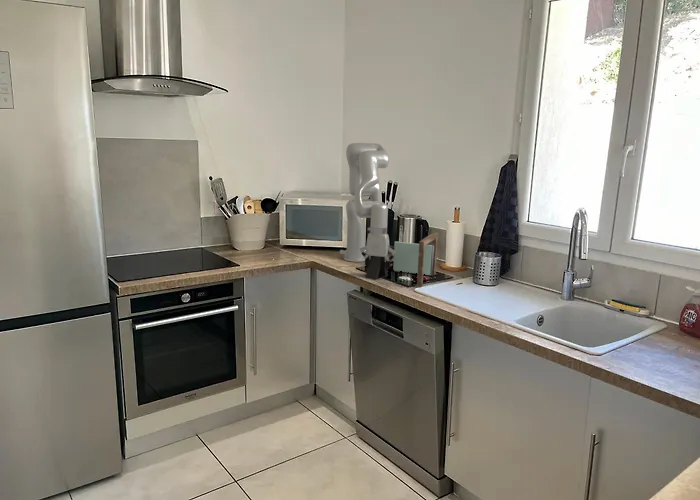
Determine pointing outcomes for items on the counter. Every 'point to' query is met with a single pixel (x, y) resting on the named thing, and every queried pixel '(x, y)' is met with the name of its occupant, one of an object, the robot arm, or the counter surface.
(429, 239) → the door frame
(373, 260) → the door stopper
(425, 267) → the door
